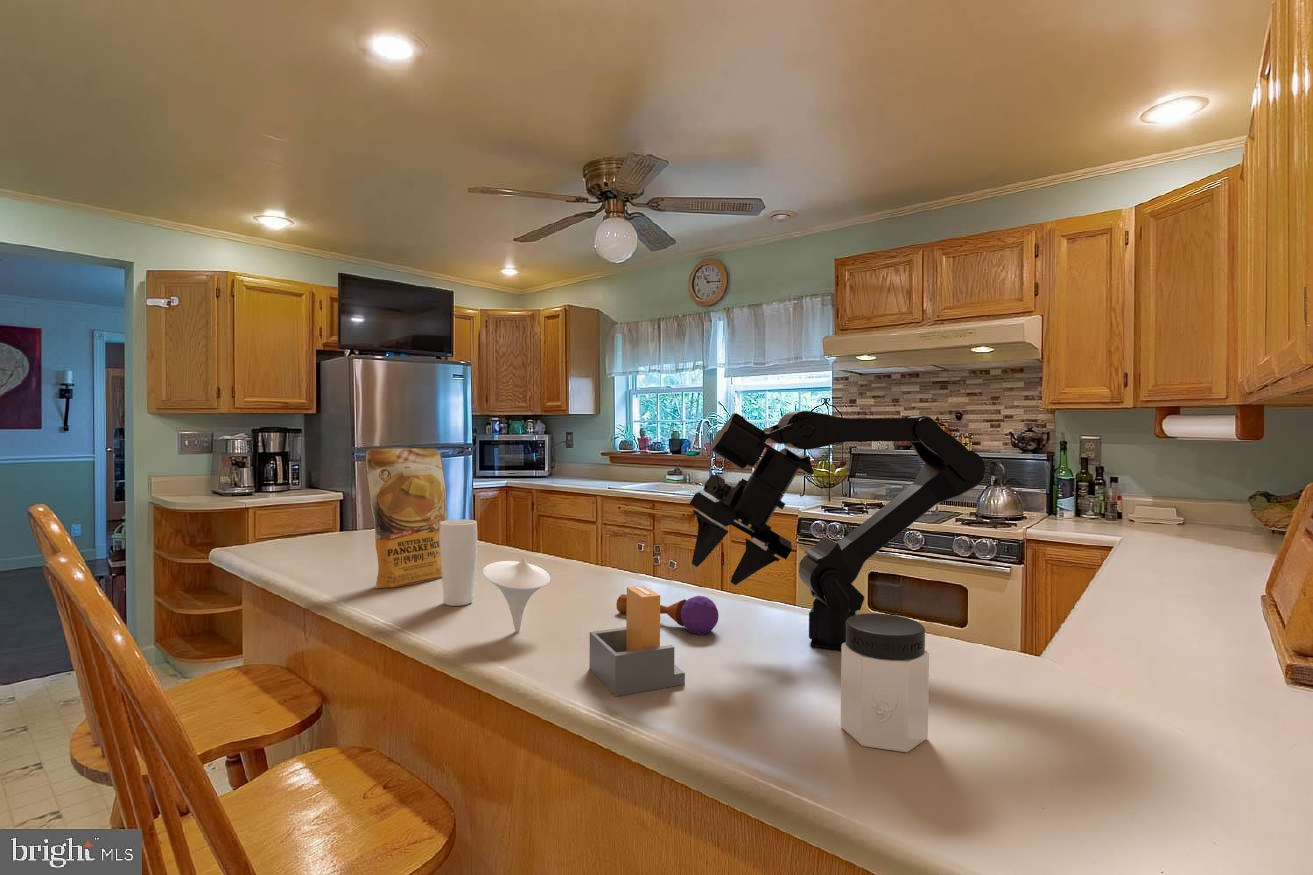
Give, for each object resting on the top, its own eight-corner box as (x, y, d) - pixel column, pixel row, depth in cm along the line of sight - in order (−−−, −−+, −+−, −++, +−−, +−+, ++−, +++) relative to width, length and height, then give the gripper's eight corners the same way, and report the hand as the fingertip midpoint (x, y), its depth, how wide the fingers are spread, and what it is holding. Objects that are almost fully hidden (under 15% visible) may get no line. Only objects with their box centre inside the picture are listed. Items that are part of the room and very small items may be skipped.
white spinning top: (564, 628, 107) (564, 555, 107) (513, 647, 98) (513, 566, 98) (520, 617, 113) (520, 547, 113) (468, 633, 104) (468, 557, 104)
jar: (839, 744, 69) (840, 630, 69) (841, 712, 77) (843, 609, 77) (931, 758, 67) (933, 639, 66) (924, 723, 74) (926, 616, 74)
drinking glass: (485, 601, 123) (485, 521, 123) (456, 610, 117) (456, 525, 117) (460, 596, 127) (460, 518, 126) (431, 604, 121) (430, 522, 120)
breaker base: (653, 658, 94) (653, 623, 94) (684, 684, 85) (685, 645, 85) (589, 668, 90) (589, 631, 90) (615, 696, 81) (615, 655, 81)
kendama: (635, 586, 120) (726, 597, 107) (633, 620, 119) (724, 635, 106) (612, 586, 115) (704, 597, 102) (609, 621, 114) (702, 637, 101)
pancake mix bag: (357, 587, 133) (356, 448, 132) (440, 570, 148) (440, 445, 147) (374, 592, 129) (373, 449, 128) (458, 575, 144) (458, 446, 143)
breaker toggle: (643, 654, 91) (643, 584, 91) (659, 667, 86) (660, 594, 86) (626, 656, 90) (626, 586, 90) (642, 670, 85) (642, 596, 85)
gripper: (768, 489, 111) (720, 568, 111) (696, 443, 100) (643, 531, 100) (815, 514, 103) (763, 601, 102) (742, 467, 91) (684, 565, 91)
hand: (714, 574), depth 99 cm, fingers open, 9 cm apart
